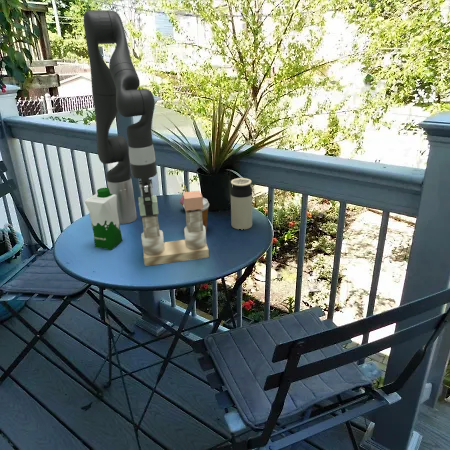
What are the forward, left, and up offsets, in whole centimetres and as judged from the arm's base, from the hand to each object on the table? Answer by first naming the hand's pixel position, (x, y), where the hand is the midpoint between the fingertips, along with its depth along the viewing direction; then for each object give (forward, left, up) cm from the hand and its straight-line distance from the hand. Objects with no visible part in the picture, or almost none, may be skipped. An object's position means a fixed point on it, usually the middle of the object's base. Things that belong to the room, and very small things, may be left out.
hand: (149, 209), depth 126 cm
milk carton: (-21, -1, -18) cm, 27 cm away
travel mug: (+13, +35, -18) cm, 41 cm away
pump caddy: (+5, +5, -17) cm, 19 cm away
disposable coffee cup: (+1, +23, -18) cm, 29 cm away
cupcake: (-13, +37, -18) cm, 43 cm away
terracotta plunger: (+10, +10, -7) cm, 16 cm away
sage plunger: (0, 0, -8) cm, 8 cm away
